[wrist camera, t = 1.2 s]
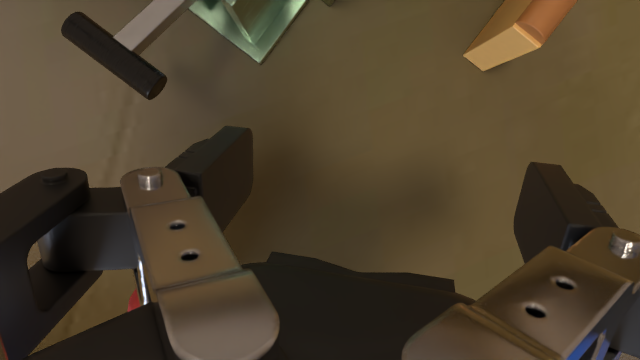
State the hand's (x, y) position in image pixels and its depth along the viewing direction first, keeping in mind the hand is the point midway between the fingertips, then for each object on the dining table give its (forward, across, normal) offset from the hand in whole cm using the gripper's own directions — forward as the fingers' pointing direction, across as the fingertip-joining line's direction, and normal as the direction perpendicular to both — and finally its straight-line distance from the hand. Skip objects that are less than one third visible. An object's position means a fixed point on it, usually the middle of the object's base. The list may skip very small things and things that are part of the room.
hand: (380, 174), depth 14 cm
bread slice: (+26, -7, -2) cm, 27 cm away
